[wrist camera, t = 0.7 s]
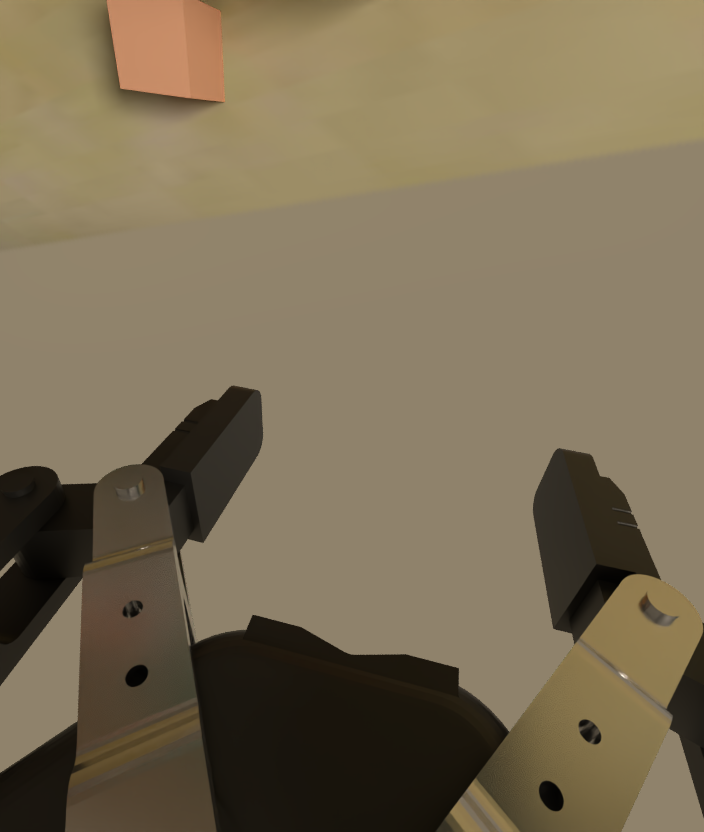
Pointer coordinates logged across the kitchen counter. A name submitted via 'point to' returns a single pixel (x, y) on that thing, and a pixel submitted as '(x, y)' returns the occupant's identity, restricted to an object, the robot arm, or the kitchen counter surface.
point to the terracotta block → (168, 47)
